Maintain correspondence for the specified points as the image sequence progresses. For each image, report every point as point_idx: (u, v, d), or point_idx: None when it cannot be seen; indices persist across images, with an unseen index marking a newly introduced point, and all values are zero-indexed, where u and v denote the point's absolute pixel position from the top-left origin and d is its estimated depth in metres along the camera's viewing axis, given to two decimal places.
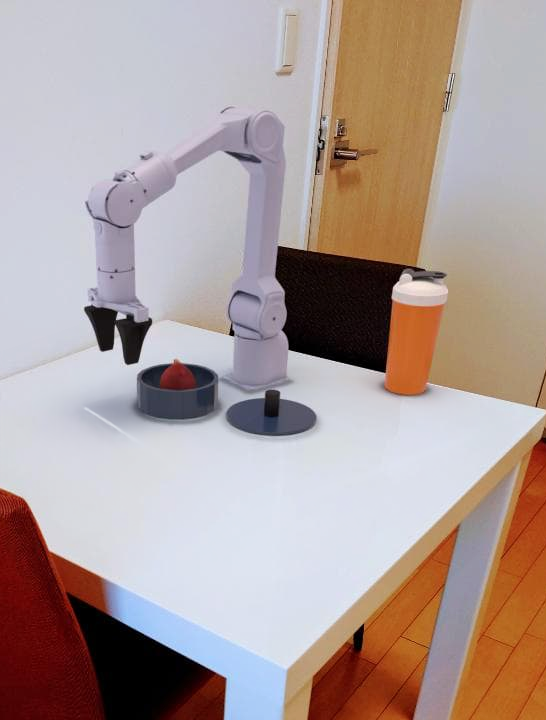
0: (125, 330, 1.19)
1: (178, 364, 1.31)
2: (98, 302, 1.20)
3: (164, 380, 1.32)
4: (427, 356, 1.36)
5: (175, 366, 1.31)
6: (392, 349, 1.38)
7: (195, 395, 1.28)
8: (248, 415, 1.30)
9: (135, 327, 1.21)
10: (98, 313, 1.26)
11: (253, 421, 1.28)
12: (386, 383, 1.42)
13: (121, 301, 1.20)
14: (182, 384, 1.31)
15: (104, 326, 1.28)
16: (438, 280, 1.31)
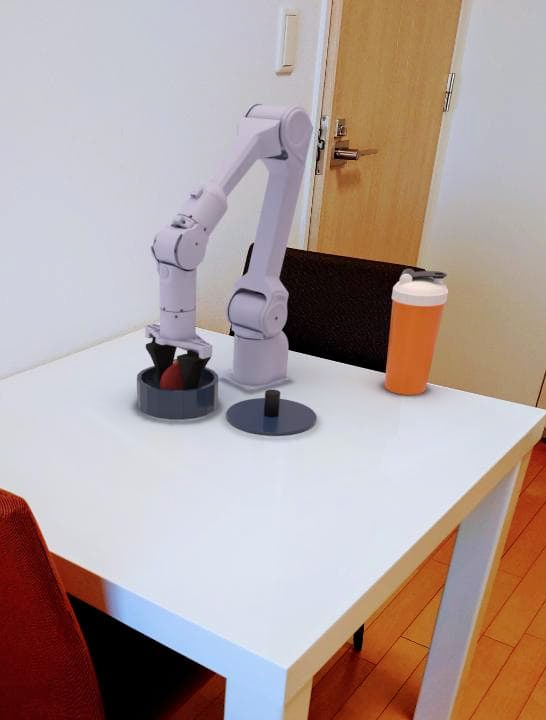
0: (188, 365, 1.26)
1: (178, 364, 1.31)
2: (162, 340, 1.27)
3: (164, 380, 1.32)
4: (427, 356, 1.36)
5: (176, 366, 1.31)
6: (392, 349, 1.38)
7: (195, 395, 1.28)
8: (248, 415, 1.30)
9: (195, 361, 1.29)
10: (160, 350, 1.32)
11: (253, 421, 1.28)
12: (386, 383, 1.42)
13: (184, 338, 1.27)
14: (182, 384, 1.31)
15: (164, 361, 1.34)
16: (438, 280, 1.31)
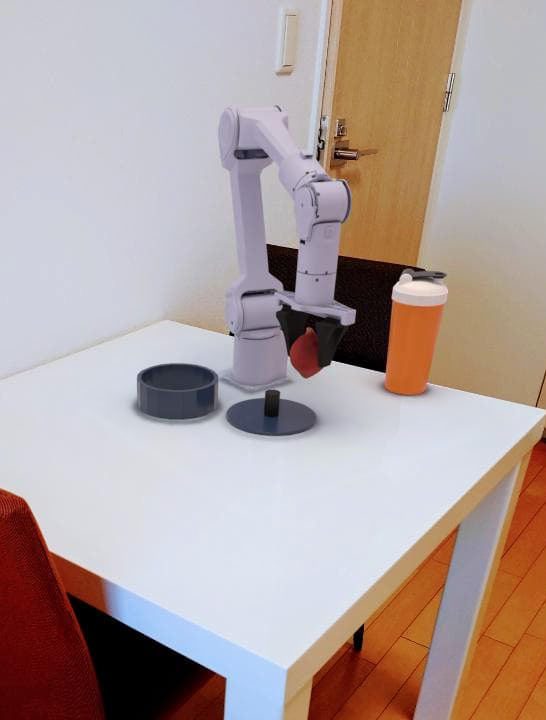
0: (328, 332, 1.17)
1: (312, 333, 1.22)
2: (300, 305, 1.18)
3: (296, 351, 1.23)
4: (427, 356, 1.36)
5: (309, 335, 1.22)
6: (392, 349, 1.38)
7: (195, 395, 1.28)
8: (248, 415, 1.30)
9: None
10: (291, 318, 1.23)
11: (253, 421, 1.28)
12: (386, 383, 1.42)
13: (324, 304, 1.18)
14: (316, 355, 1.22)
15: (294, 331, 1.25)
16: (438, 280, 1.31)
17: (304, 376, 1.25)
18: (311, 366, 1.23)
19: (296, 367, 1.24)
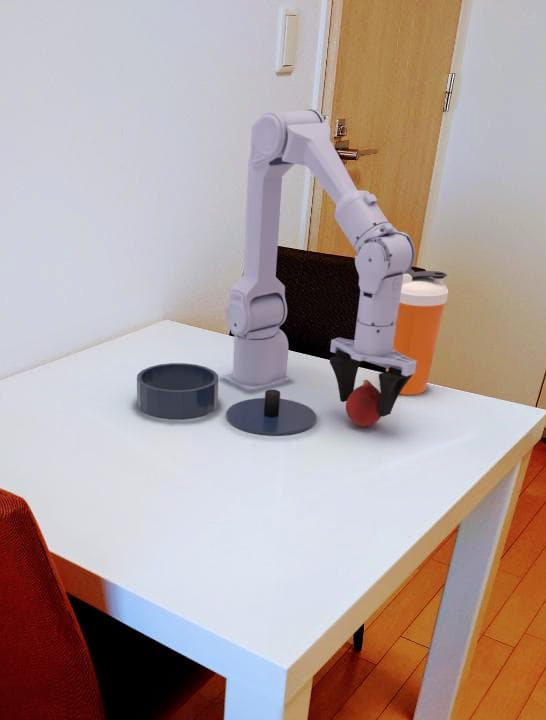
0: (392, 383, 1.18)
1: (369, 385, 1.24)
2: (360, 355, 1.19)
3: (353, 403, 1.24)
4: (427, 356, 1.36)
5: (367, 387, 1.24)
6: None
7: (195, 395, 1.28)
8: (248, 415, 1.30)
9: None
10: (345, 364, 1.25)
11: (253, 421, 1.28)
12: None
13: (383, 354, 1.19)
14: (374, 407, 1.23)
15: (348, 376, 1.26)
16: (438, 280, 1.31)
17: None
18: (368, 418, 1.24)
19: (353, 418, 1.25)
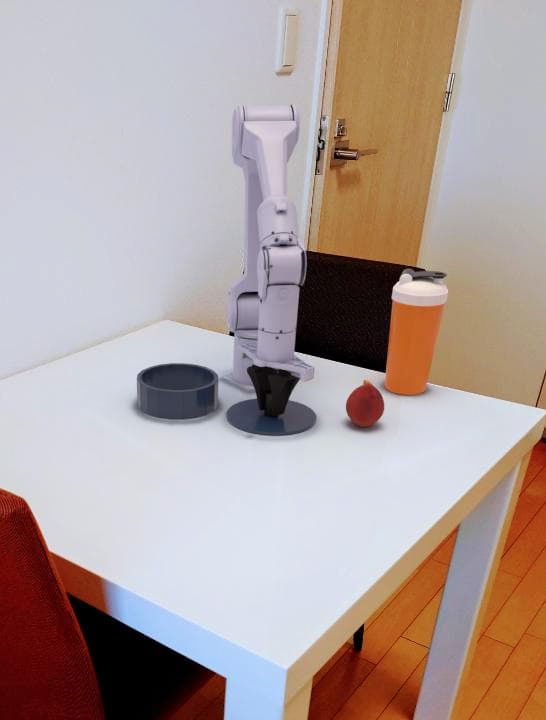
0: (280, 384, 1.23)
1: (369, 385, 1.24)
2: (261, 361, 1.23)
3: (353, 403, 1.24)
4: (427, 356, 1.36)
5: (367, 387, 1.24)
6: (392, 349, 1.38)
7: (195, 395, 1.28)
8: (248, 415, 1.30)
9: None
10: (262, 374, 1.27)
11: (253, 421, 1.28)
12: (386, 383, 1.42)
13: (284, 360, 1.23)
14: (374, 407, 1.23)
15: (265, 385, 1.28)
16: (438, 280, 1.31)
17: None
18: (368, 418, 1.24)
19: (353, 418, 1.25)
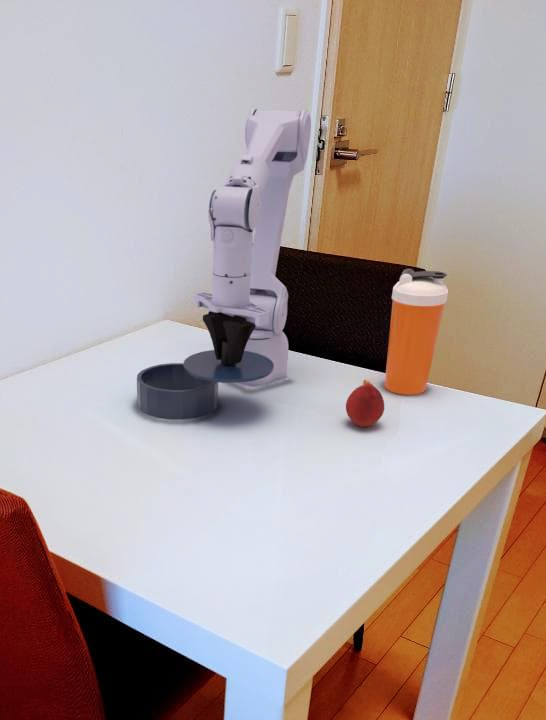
0: (235, 330, 1.22)
1: (369, 385, 1.24)
2: (216, 307, 1.21)
3: (353, 403, 1.24)
4: (427, 356, 1.36)
5: (367, 387, 1.24)
6: (392, 349, 1.38)
7: (195, 395, 1.28)
8: (205, 365, 1.28)
9: (241, 327, 1.24)
10: (218, 321, 1.25)
11: (209, 370, 1.26)
12: (386, 383, 1.42)
13: (239, 305, 1.21)
14: (374, 407, 1.23)
15: (222, 334, 1.27)
16: (438, 280, 1.31)
17: None
18: (368, 418, 1.24)
19: (353, 418, 1.25)
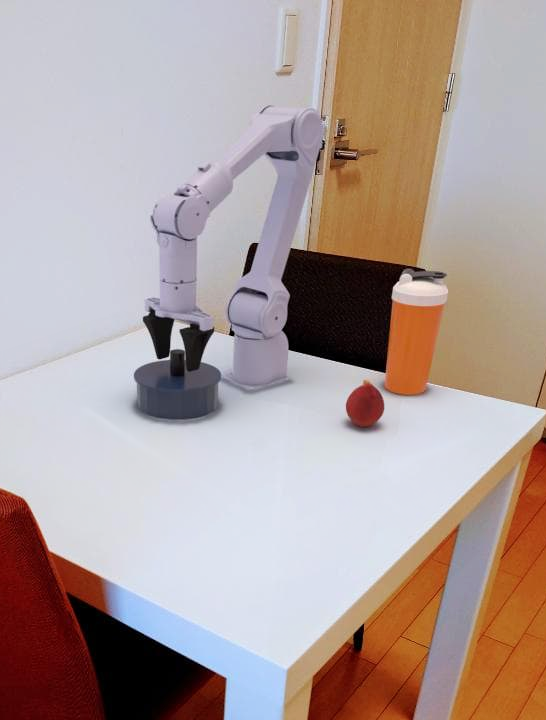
0: (191, 338, 1.24)
1: (369, 385, 1.24)
2: (162, 312, 1.25)
3: (353, 403, 1.24)
4: (427, 356, 1.36)
5: (367, 387, 1.24)
6: (392, 349, 1.38)
7: (195, 395, 1.28)
8: (154, 375, 1.32)
9: (198, 335, 1.26)
10: (157, 322, 1.30)
11: (158, 380, 1.30)
12: (386, 383, 1.42)
13: (185, 310, 1.25)
14: (374, 407, 1.23)
15: (161, 334, 1.32)
16: (438, 280, 1.31)
17: None
18: (368, 418, 1.24)
19: (353, 418, 1.25)
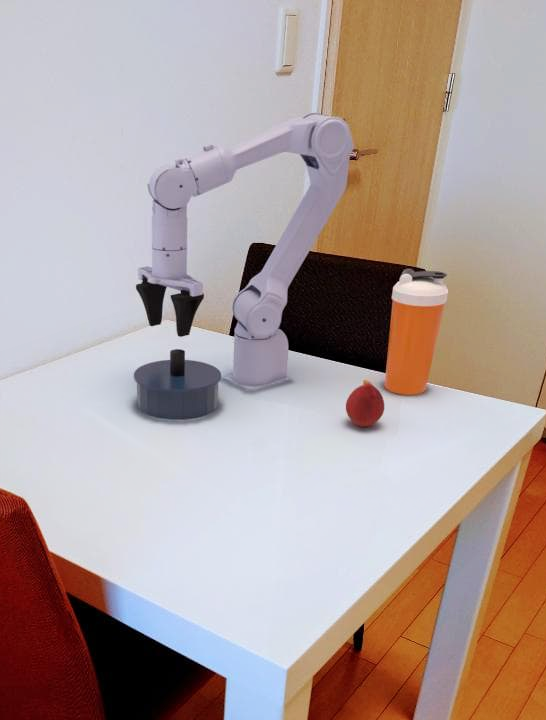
0: (182, 304, 1.30)
1: (369, 385, 1.24)
2: (154, 279, 1.31)
3: (353, 403, 1.24)
4: (427, 356, 1.36)
5: (367, 387, 1.24)
6: (392, 349, 1.38)
7: (195, 395, 1.28)
8: (154, 375, 1.32)
9: (188, 301, 1.32)
10: (149, 290, 1.36)
11: (158, 380, 1.30)
12: (386, 383, 1.42)
13: (176, 277, 1.31)
14: (374, 407, 1.23)
15: (154, 302, 1.38)
16: (438, 280, 1.31)
17: None
18: (368, 418, 1.24)
19: (353, 418, 1.25)
